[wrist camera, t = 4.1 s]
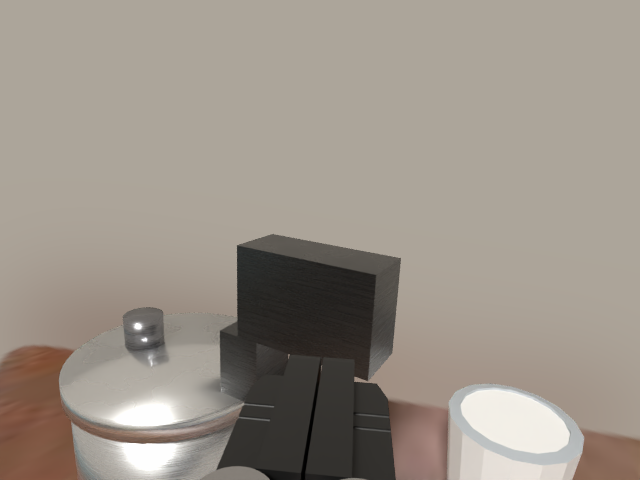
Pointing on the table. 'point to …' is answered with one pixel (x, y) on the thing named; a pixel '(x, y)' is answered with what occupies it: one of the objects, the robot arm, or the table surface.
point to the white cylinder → (509, 436)
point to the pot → (148, 457)
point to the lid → (233, 342)
